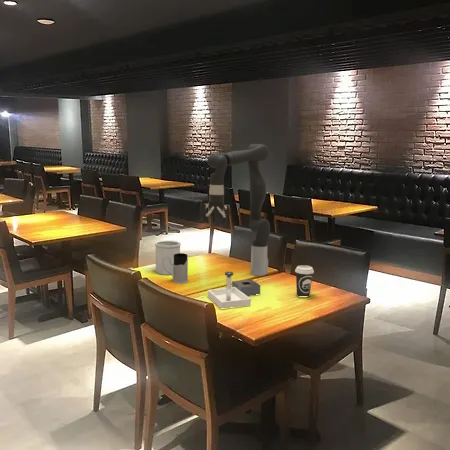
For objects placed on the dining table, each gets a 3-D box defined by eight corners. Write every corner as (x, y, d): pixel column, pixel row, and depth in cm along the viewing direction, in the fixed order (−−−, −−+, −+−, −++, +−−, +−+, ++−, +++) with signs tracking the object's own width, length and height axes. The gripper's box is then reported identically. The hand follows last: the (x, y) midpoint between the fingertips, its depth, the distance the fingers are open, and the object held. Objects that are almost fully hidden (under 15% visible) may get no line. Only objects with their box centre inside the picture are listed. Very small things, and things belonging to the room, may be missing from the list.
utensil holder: (166, 266, 304) (166, 238, 300) (185, 271, 295) (185, 242, 292) (149, 272, 292) (149, 242, 288) (168, 276, 283) (168, 246, 280)
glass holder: (188, 283, 272) (188, 257, 269) (162, 283, 271) (162, 256, 268) (188, 278, 281) (188, 252, 278) (163, 278, 280) (162, 252, 277)
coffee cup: (314, 294, 259) (316, 266, 256) (309, 300, 250) (311, 271, 247) (296, 291, 263) (298, 264, 260) (291, 296, 254) (292, 268, 251)
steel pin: (230, 298, 249) (231, 271, 246) (233, 300, 245) (234, 273, 242) (223, 299, 247) (223, 271, 245) (226, 301, 244) (226, 274, 241)
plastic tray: (234, 293, 258) (235, 286, 257) (250, 305, 241) (250, 298, 240) (207, 296, 252) (207, 290, 251) (221, 309, 235) (221, 302, 234)
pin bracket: (250, 288, 267) (251, 279, 266) (260, 294, 257) (260, 285, 256) (232, 290, 262) (232, 281, 261) (240, 297, 252) (240, 287, 252)
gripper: (231, 193, 262) (230, 223, 265) (205, 191, 265) (204, 221, 268) (228, 194, 255) (227, 226, 258) (201, 193, 258) (201, 224, 261)
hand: (216, 223), depth 263 cm, fingers open, 8 cm apart
